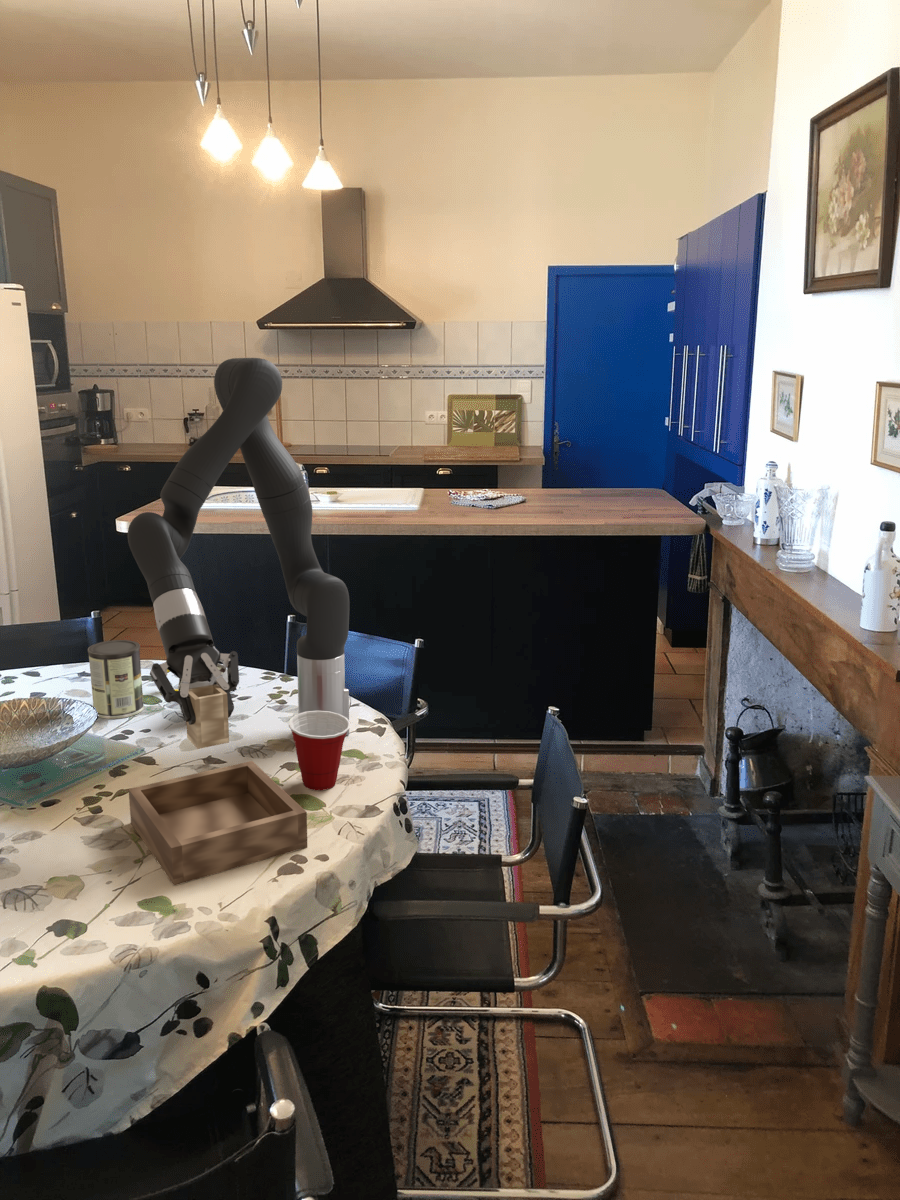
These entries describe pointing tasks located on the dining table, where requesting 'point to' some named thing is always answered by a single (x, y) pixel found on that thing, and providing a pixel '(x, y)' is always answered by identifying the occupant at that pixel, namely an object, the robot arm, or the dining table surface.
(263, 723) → the dining table surface
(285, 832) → the crate
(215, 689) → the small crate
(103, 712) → the coffee can
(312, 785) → the plastic cup
